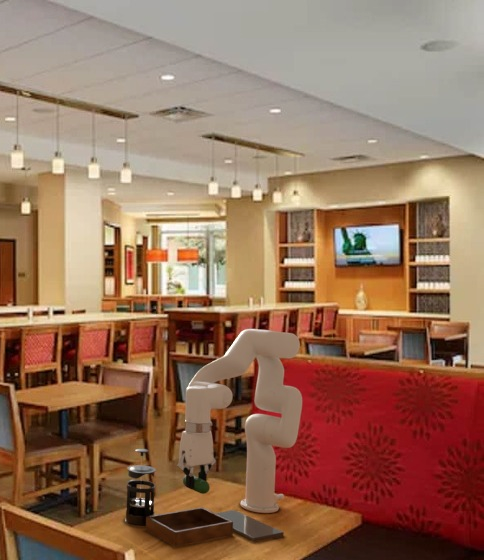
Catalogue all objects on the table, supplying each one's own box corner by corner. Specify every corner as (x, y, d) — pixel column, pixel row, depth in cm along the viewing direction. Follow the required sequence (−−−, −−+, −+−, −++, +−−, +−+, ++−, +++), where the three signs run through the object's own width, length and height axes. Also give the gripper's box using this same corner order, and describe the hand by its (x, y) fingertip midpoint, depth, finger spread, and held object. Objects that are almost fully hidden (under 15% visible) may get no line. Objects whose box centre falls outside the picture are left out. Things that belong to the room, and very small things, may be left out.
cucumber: (190, 484, 226) (190, 472, 226) (212, 494, 217) (212, 481, 217) (180, 486, 224) (180, 473, 224) (201, 496, 215) (201, 483, 215)
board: (234, 514, 239) (234, 509, 239) (283, 537, 220) (283, 532, 220) (205, 519, 233) (205, 514, 233) (253, 543, 214) (253, 538, 214)
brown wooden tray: (201, 521, 232) (202, 507, 232) (232, 536, 219) (233, 521, 219) (145, 531, 221) (146, 516, 221) (174, 548, 208) (175, 532, 208)
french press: (161, 526, 226) (163, 452, 225) (134, 529, 222) (137, 454, 222) (143, 514, 237) (145, 443, 236) (117, 517, 233) (119, 445, 232)
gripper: (211, 422, 228) (209, 480, 228) (167, 427, 219) (166, 487, 220) (227, 427, 221) (225, 486, 221) (182, 432, 213) (181, 494, 213)
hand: (196, 486), depth 221 cm, fingers closed on cucumber, 4 cm apart
